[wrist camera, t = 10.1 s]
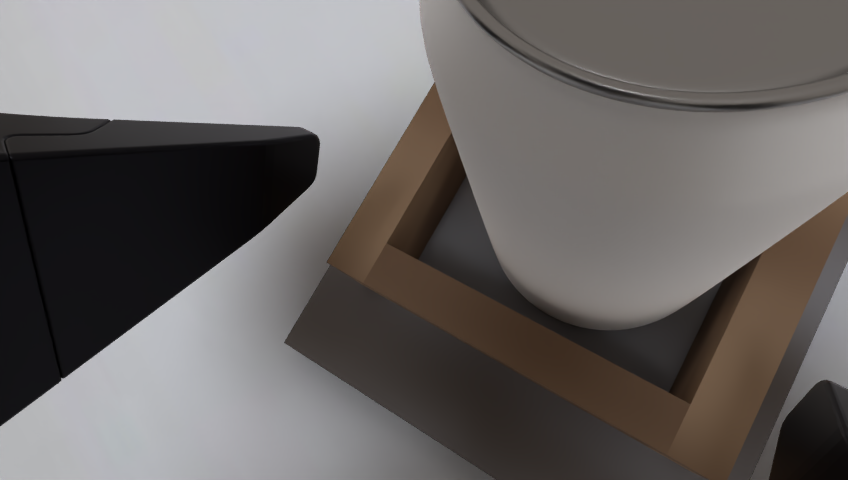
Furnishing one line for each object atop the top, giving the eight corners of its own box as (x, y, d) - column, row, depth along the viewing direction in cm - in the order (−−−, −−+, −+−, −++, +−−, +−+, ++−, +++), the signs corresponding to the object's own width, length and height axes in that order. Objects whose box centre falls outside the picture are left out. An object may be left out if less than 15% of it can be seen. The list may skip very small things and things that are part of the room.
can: (738, 328, 15) (1331, 100, 4) (497, 338, 16) (379, 192, 5) (700, 113, 17) (1015, -482, 5) (486, 137, 18) (383, -305, 7)
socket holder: (684, 593, 14) (731, 660, 11) (297, 345, 18) (233, 330, 15) (886, 143, 16) (988, 66, 13) (496, 10, 20) (484, -78, 17)
